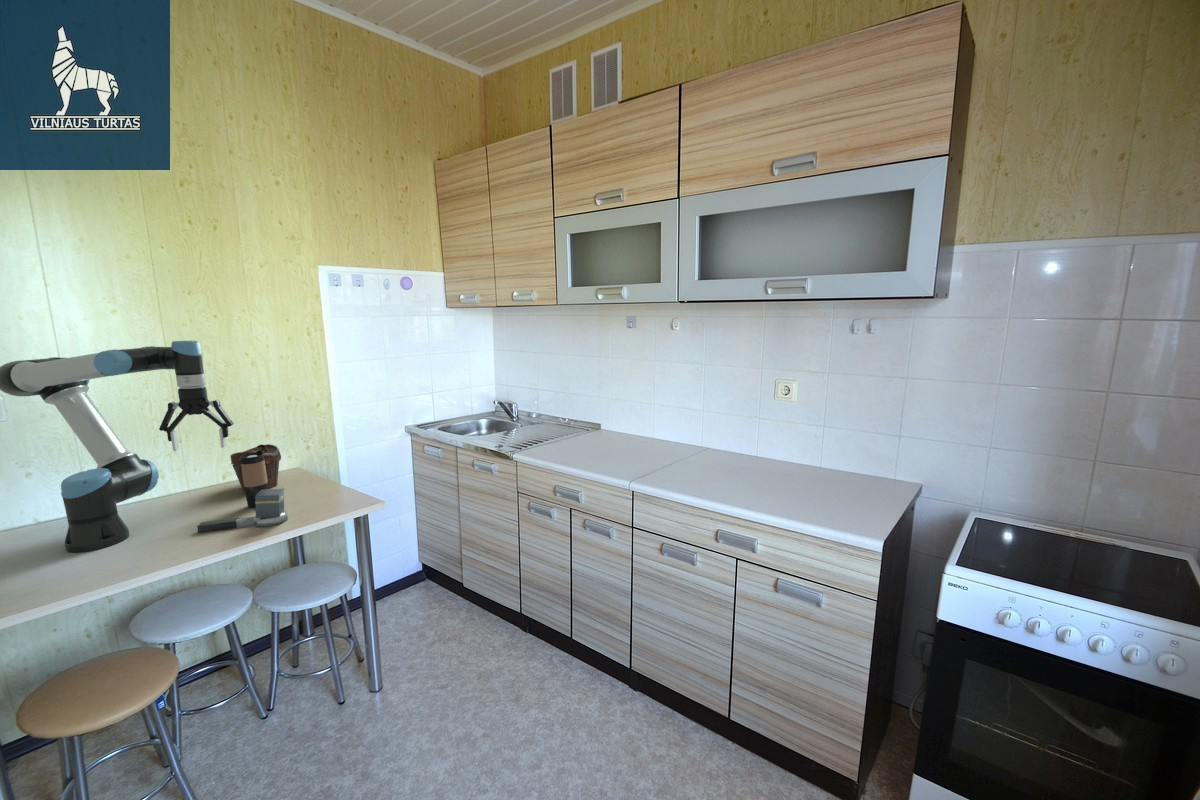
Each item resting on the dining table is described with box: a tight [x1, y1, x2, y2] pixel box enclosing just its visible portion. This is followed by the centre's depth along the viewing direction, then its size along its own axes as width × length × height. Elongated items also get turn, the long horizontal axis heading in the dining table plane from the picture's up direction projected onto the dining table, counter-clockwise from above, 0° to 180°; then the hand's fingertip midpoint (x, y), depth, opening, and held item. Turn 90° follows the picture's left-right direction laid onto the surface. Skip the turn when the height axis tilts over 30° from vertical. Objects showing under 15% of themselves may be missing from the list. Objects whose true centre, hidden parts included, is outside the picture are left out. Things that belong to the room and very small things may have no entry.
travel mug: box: [240, 453, 268, 510], centre depth 196 cm, size 8×8×20 cm
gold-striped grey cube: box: [255, 488, 285, 518], centre depth 180 cm, size 7×7×8 cm
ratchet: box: [197, 509, 289, 534], centre depth 178 cm, size 26×10×8 cm, turn 109°
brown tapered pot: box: [229, 443, 282, 492], centre depth 219 cm, size 18×20×18 cm
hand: (200, 448), depth 175 cm, fingers open, 13 cm apart
